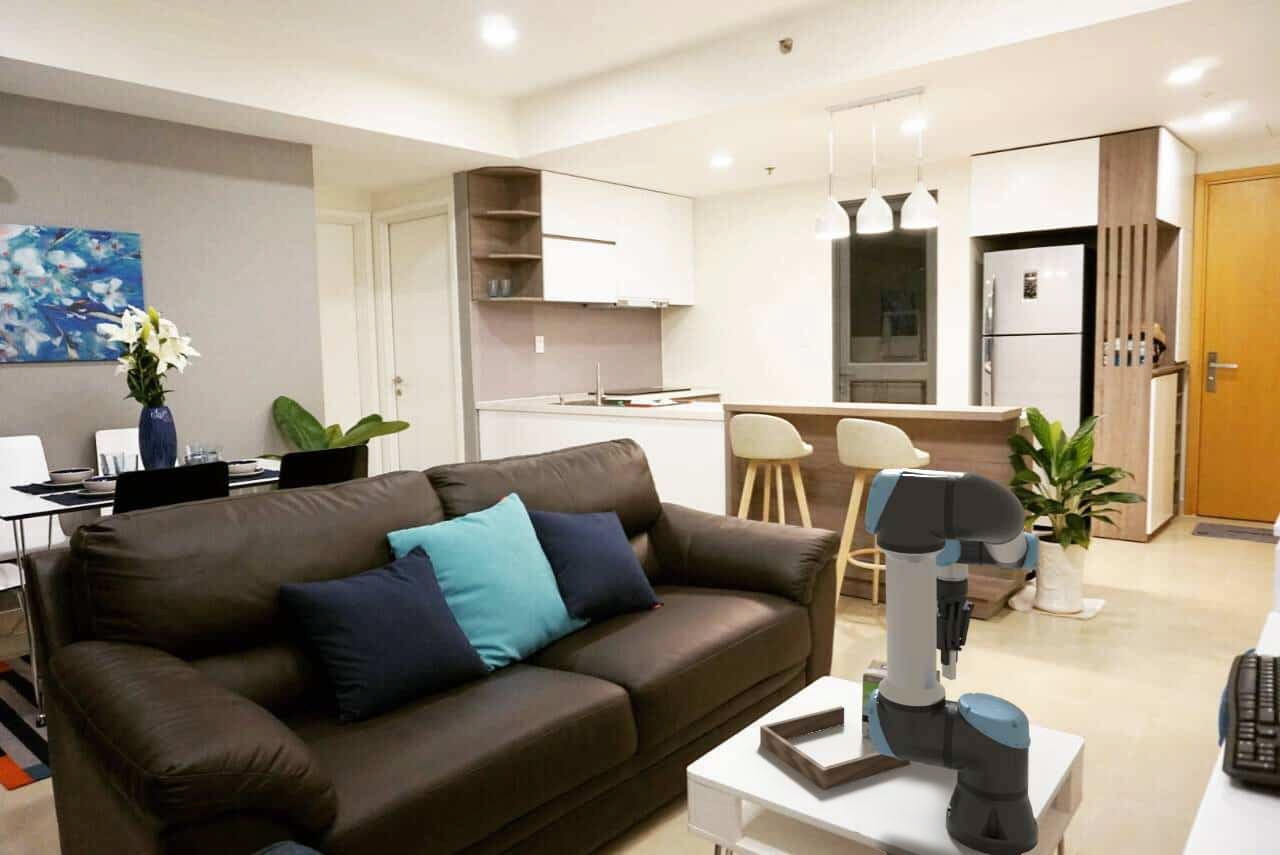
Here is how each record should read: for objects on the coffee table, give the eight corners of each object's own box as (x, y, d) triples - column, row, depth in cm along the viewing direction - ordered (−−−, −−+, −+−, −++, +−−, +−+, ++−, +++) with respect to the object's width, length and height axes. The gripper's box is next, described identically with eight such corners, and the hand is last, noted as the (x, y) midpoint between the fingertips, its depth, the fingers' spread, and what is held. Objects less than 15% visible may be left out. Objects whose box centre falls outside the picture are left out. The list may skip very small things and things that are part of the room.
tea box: (860, 738, 189) (861, 673, 188) (871, 720, 198) (871, 658, 196) (932, 752, 182) (933, 684, 181) (939, 732, 191) (940, 668, 190)
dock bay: (910, 764, 177) (910, 745, 177) (823, 790, 168) (823, 770, 167) (841, 723, 197) (841, 706, 196) (760, 743, 187) (760, 726, 187)
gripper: (959, 568, 199) (957, 666, 201) (915, 576, 193) (915, 677, 196) (984, 576, 192) (983, 677, 195) (940, 584, 187) (939, 689, 189)
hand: (948, 677), depth 195 cm, fingers closed
